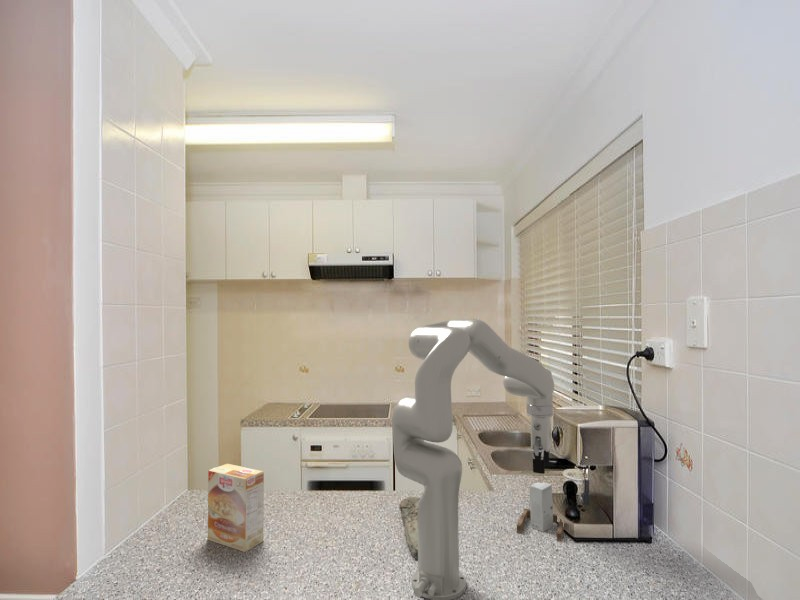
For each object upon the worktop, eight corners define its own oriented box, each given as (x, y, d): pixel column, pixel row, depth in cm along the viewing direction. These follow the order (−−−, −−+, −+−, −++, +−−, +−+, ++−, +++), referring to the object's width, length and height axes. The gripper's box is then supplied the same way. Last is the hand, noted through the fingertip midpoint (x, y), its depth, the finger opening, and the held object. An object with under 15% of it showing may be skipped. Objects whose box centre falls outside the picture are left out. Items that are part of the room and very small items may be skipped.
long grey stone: (404, 568, 112) (443, 569, 113) (405, 548, 112) (444, 548, 113) (396, 503, 147) (426, 504, 148) (397, 488, 147) (427, 488, 148)
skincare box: (543, 532, 127) (543, 489, 128) (529, 527, 130) (529, 485, 131) (554, 525, 131) (553, 484, 132) (540, 520, 135) (539, 480, 135)
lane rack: (560, 541, 122) (560, 534, 122) (516, 532, 127) (516, 525, 127) (565, 522, 133) (565, 515, 133) (524, 515, 138) (524, 508, 139)
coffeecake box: (206, 540, 124) (207, 469, 125) (227, 529, 130) (227, 462, 131) (244, 553, 117) (245, 478, 118) (264, 541, 123) (264, 470, 124)
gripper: (549, 417, 123) (550, 479, 122) (556, 405, 139) (557, 460, 138) (521, 414, 126) (523, 475, 126) (531, 403, 142) (533, 457, 141)
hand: (541, 467), depth 132 cm, fingers open, 9 cm apart
